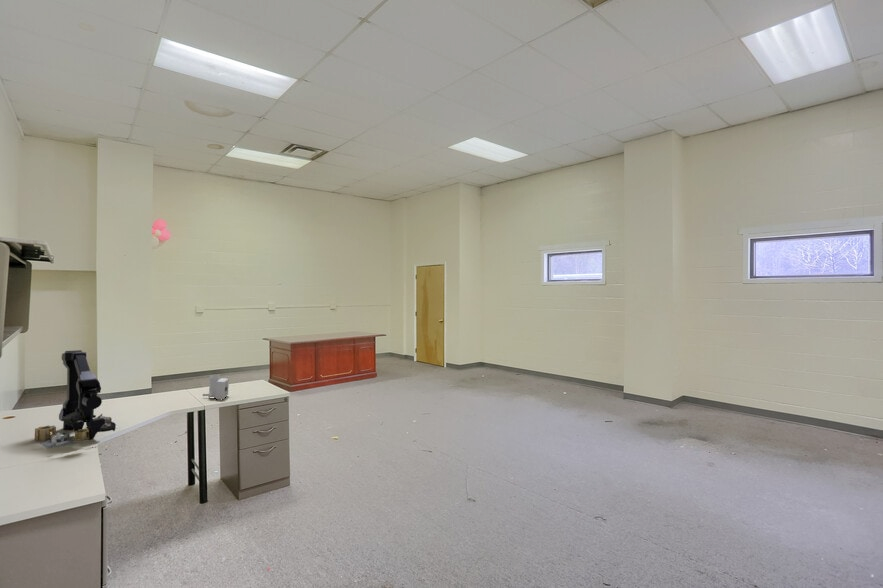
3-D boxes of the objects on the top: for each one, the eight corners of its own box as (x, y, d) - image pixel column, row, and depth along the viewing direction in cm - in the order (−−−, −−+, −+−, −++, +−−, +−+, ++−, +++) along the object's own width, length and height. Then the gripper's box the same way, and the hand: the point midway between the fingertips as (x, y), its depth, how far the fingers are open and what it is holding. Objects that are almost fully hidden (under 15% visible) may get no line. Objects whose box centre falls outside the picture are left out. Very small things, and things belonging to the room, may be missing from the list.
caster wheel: (109, 439, 213) (86, 436, 211) (121, 427, 224) (99, 425, 222) (110, 426, 212) (87, 423, 210) (123, 415, 223) (101, 413, 221)
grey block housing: (223, 400, 289) (224, 377, 289) (200, 400, 286) (201, 377, 286) (228, 396, 301) (229, 374, 301) (205, 396, 298) (206, 374, 298)
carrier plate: (34, 442, 197) (34, 430, 198) (62, 437, 206) (63, 425, 206) (46, 451, 187) (47, 439, 187) (75, 445, 195) (76, 434, 195)
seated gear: (32, 438, 197) (33, 427, 198) (52, 435, 203) (53, 424, 203) (37, 442, 194) (37, 430, 194) (57, 438, 199) (57, 427, 199)
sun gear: (48, 440, 197) (48, 434, 197) (66, 436, 202) (67, 431, 202) (52, 443, 193) (53, 437, 193) (71, 439, 199) (71, 434, 199)
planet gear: (72, 441, 201) (73, 430, 201) (90, 437, 207) (91, 427, 207) (77, 444, 197) (78, 433, 197) (96, 440, 203) (96, 430, 203)
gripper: (53, 406, 198) (51, 440, 197) (80, 411, 191) (78, 447, 191) (80, 401, 208) (78, 434, 208) (107, 406, 202) (105, 439, 202)
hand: (84, 438), depth 202 cm, fingers open, 9 cm apart
